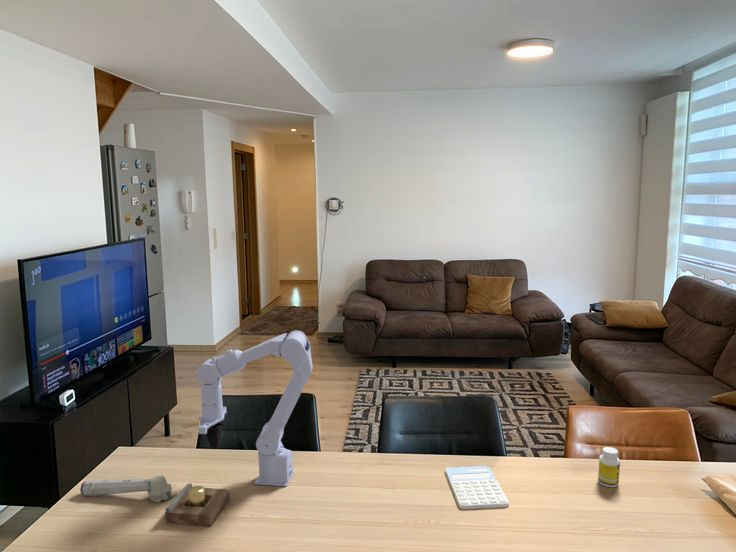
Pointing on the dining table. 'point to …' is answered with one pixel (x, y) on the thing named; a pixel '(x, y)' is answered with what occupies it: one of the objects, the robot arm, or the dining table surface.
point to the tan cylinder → (197, 496)
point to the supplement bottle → (609, 467)
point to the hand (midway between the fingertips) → (214, 446)
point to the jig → (197, 516)
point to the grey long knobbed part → (129, 487)
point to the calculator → (476, 487)
